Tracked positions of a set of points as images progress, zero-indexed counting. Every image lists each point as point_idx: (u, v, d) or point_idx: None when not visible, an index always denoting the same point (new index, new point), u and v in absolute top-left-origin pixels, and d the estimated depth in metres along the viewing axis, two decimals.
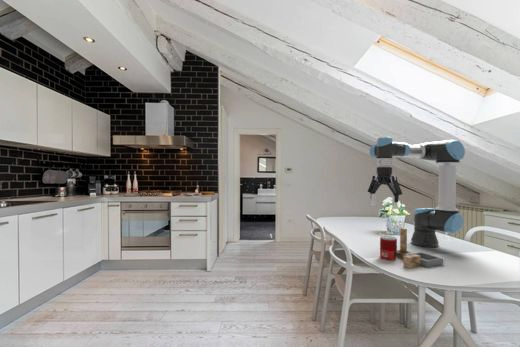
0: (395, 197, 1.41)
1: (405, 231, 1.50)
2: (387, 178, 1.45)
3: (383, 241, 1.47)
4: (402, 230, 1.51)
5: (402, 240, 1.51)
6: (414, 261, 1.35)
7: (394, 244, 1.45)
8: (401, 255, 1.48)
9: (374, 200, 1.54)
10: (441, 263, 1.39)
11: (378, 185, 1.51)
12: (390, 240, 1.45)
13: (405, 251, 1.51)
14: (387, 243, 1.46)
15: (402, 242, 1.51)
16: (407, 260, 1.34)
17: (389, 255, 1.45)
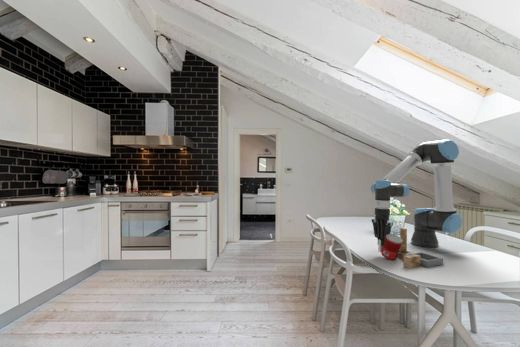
0: (382, 241, 1.51)
1: (405, 231, 1.50)
2: (384, 220, 1.50)
3: (388, 242, 1.44)
4: (402, 230, 1.51)
5: None
6: (414, 261, 1.35)
7: (398, 247, 1.42)
8: (401, 255, 1.48)
9: None
10: (441, 263, 1.39)
11: (380, 227, 1.53)
12: (395, 243, 1.42)
13: (405, 251, 1.51)
14: (392, 245, 1.43)
15: (402, 242, 1.51)
16: (407, 260, 1.34)
17: (390, 255, 1.44)
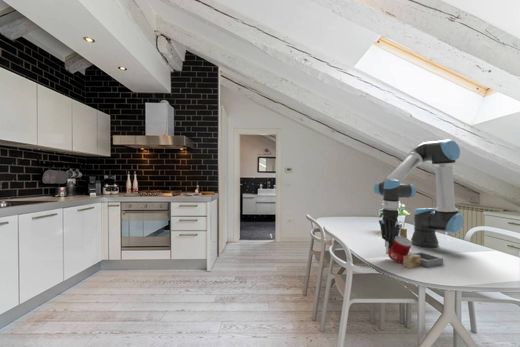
0: (389, 243, 1.46)
1: (405, 231, 1.50)
2: (393, 221, 1.44)
3: (397, 244, 1.39)
4: (402, 230, 1.51)
5: None
6: (414, 261, 1.35)
7: (407, 249, 1.38)
8: None
9: None
10: (441, 263, 1.39)
11: (388, 228, 1.48)
12: (404, 246, 1.37)
13: None
14: (400, 248, 1.38)
15: None
16: (407, 260, 1.34)
17: (398, 258, 1.40)
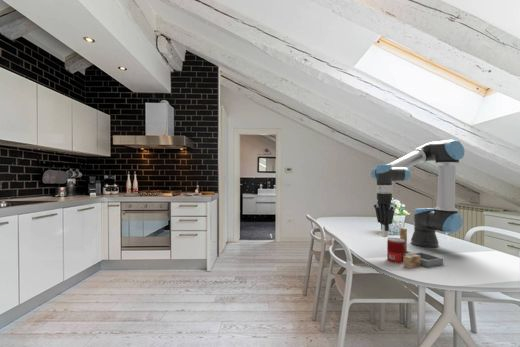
0: (385, 226, 1.50)
1: (405, 231, 1.50)
2: (387, 204, 1.49)
3: (390, 243, 1.43)
4: (402, 230, 1.51)
5: None
6: (414, 261, 1.35)
7: (402, 246, 1.41)
8: None
9: None
10: (441, 263, 1.39)
11: (383, 212, 1.52)
12: (398, 242, 1.41)
13: (405, 251, 1.51)
14: (395, 245, 1.41)
15: None
16: (407, 260, 1.34)
17: (396, 258, 1.41)
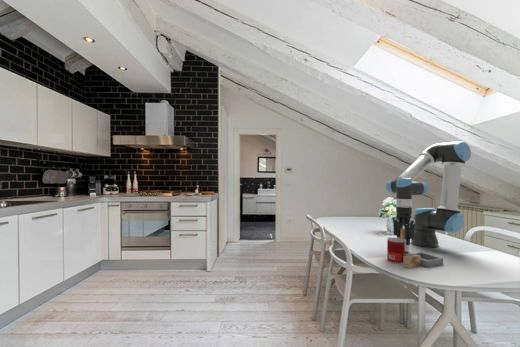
0: (407, 240, 1.49)
1: None
2: (407, 218, 1.49)
3: (390, 243, 1.43)
4: (402, 230, 1.51)
5: None
6: (414, 261, 1.35)
7: (402, 246, 1.41)
8: None
9: None
10: (441, 263, 1.39)
11: (401, 225, 1.53)
12: (398, 242, 1.41)
13: (405, 251, 1.51)
14: (395, 245, 1.41)
15: None
16: (407, 260, 1.34)
17: (396, 258, 1.41)
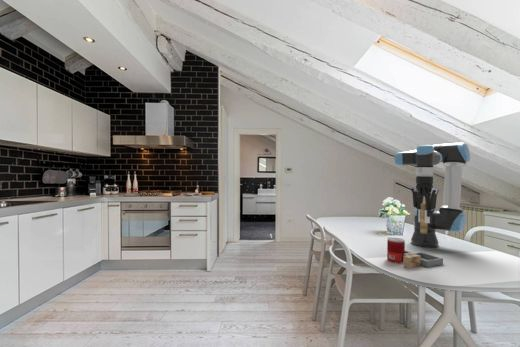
0: (428, 211, 1.40)
1: None
2: (428, 188, 1.39)
3: (390, 243, 1.43)
4: (423, 205, 1.41)
5: (423, 215, 1.41)
6: (414, 261, 1.35)
7: (402, 246, 1.41)
8: None
9: None
10: (441, 263, 1.39)
11: (421, 196, 1.43)
12: (398, 242, 1.41)
13: (426, 227, 1.41)
14: (395, 245, 1.41)
15: (423, 217, 1.41)
16: (407, 260, 1.34)
17: (396, 258, 1.41)
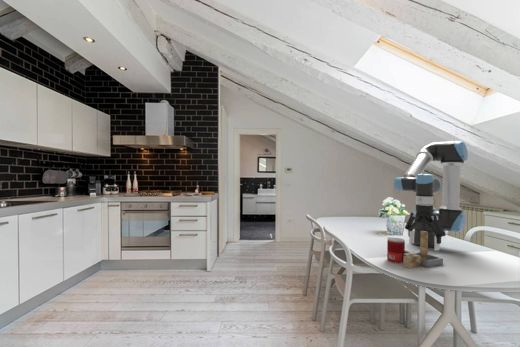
0: (438, 238, 1.35)
1: (426, 234, 1.41)
2: (428, 217, 1.39)
3: (390, 243, 1.43)
4: (423, 233, 1.41)
5: (423, 244, 1.41)
6: (414, 261, 1.35)
7: (402, 246, 1.41)
8: None
9: (412, 238, 1.48)
10: (441, 263, 1.39)
11: (417, 223, 1.45)
12: (398, 242, 1.41)
13: (426, 255, 1.41)
14: (395, 245, 1.41)
15: (423, 246, 1.41)
16: (407, 260, 1.34)
17: (396, 258, 1.41)
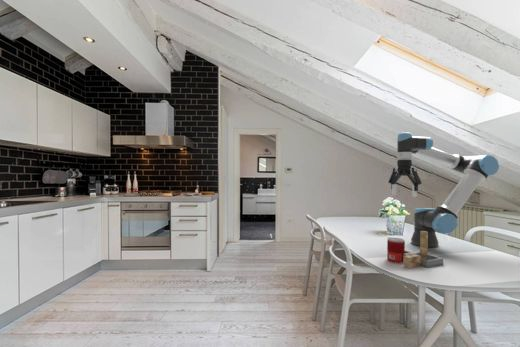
0: (415, 186, 1.57)
1: (426, 234, 1.41)
2: (407, 170, 1.61)
3: (390, 243, 1.43)
4: (423, 233, 1.41)
5: (423, 244, 1.41)
6: (414, 261, 1.35)
7: (402, 246, 1.41)
8: None
9: (394, 190, 1.71)
10: (441, 263, 1.39)
11: (398, 176, 1.68)
12: (398, 242, 1.41)
13: (426, 255, 1.41)
14: (395, 245, 1.41)
15: (423, 246, 1.41)
16: (407, 260, 1.34)
17: (396, 258, 1.41)
